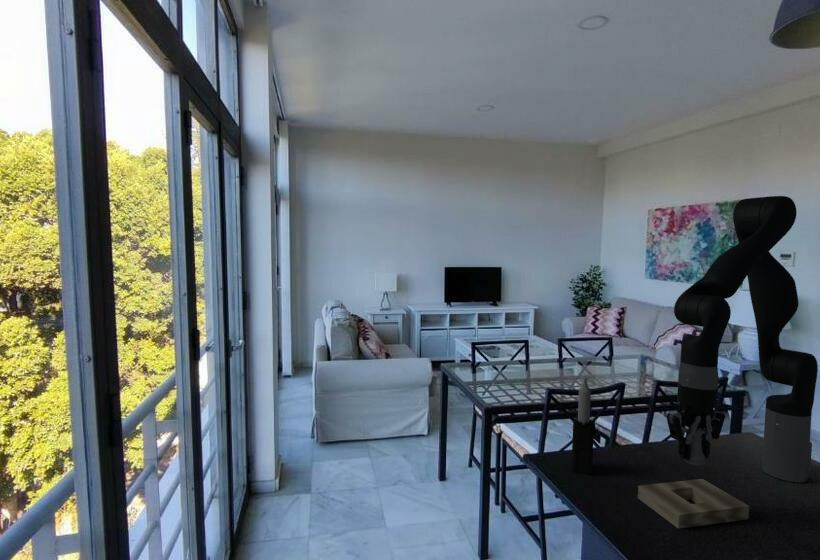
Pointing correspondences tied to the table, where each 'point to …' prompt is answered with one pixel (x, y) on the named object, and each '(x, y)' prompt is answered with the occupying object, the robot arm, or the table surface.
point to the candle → (583, 434)
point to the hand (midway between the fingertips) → (693, 457)
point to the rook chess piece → (696, 449)
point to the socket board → (682, 514)
